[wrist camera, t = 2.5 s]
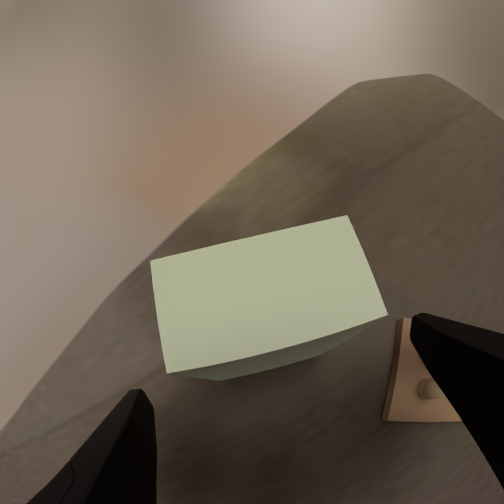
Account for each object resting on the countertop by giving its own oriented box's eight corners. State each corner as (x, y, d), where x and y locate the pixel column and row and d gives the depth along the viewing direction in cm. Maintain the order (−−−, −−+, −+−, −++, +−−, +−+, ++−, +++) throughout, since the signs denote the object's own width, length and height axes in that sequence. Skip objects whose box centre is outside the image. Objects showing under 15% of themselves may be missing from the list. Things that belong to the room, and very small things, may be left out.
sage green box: (304, 305, 19) (347, 215, 9) (319, 355, 18) (387, 314, 8) (208, 329, 19) (150, 260, 9) (220, 380, 17) (166, 373, 7)
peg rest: (484, 418, 14) (511, 418, 11) (381, 419, 15) (404, 423, 12) (493, 335, 17) (519, 325, 14) (397, 320, 18) (420, 307, 15)
